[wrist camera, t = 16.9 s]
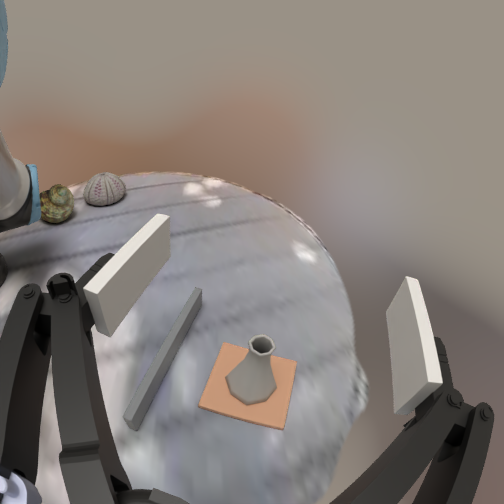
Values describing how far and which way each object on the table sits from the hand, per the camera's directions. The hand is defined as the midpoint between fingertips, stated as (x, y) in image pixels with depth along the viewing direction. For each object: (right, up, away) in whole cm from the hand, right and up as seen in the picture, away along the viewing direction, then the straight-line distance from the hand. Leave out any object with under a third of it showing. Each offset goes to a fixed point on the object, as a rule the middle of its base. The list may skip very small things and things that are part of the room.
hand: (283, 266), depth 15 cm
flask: (-2, -18, +25) cm, 31 cm away
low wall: (-14, -16, +27) cm, 34 cm away
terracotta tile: (-2, -19, +25) cm, 32 cm away
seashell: (-55, +10, +53) cm, 77 cm away
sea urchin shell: (-46, +16, +65) cm, 81 cm away
